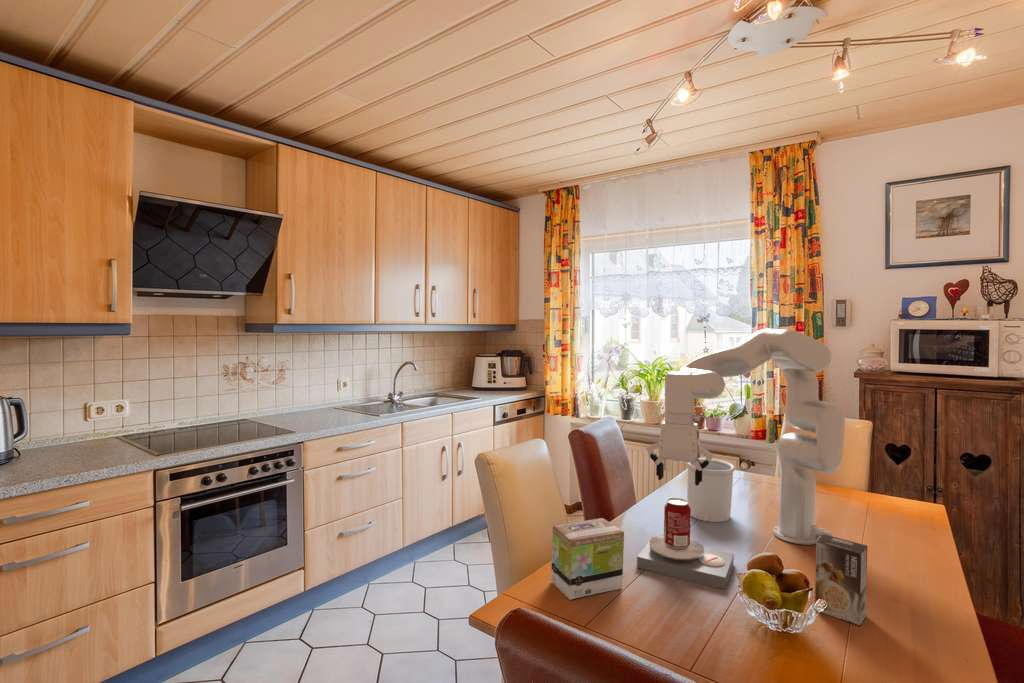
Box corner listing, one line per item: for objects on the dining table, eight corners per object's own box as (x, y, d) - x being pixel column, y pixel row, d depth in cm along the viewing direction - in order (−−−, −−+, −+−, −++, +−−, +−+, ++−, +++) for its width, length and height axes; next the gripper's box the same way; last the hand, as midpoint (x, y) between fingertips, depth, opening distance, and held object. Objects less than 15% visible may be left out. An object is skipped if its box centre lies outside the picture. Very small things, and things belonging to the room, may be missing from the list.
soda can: (691, 551, 138) (692, 506, 138) (664, 549, 139) (665, 504, 139) (688, 540, 145) (689, 497, 144) (662, 538, 146) (663, 496, 146)
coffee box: (867, 615, 118) (870, 545, 117) (860, 627, 114) (862, 554, 113) (821, 599, 125) (823, 533, 124) (813, 610, 120) (815, 541, 120)
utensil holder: (741, 517, 176) (743, 465, 175) (714, 527, 168) (716, 472, 167) (703, 504, 188) (705, 455, 187) (676, 512, 180) (677, 461, 179)
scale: (733, 564, 142) (733, 551, 142) (725, 589, 129) (725, 575, 129) (652, 546, 153) (652, 534, 153) (636, 567, 140) (637, 554, 140)
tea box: (570, 602, 123) (571, 540, 122) (550, 582, 132) (551, 524, 132) (623, 589, 129) (625, 530, 128) (601, 571, 138) (602, 515, 138)
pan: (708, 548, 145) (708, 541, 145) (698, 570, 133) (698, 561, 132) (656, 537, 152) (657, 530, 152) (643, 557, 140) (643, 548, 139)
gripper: (716, 418, 139) (715, 482, 140) (650, 413, 148) (650, 472, 149) (711, 424, 133) (710, 490, 134) (643, 417, 141) (643, 480, 142)
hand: (678, 481), depth 141 cm, fingers open, 9 cm apart
